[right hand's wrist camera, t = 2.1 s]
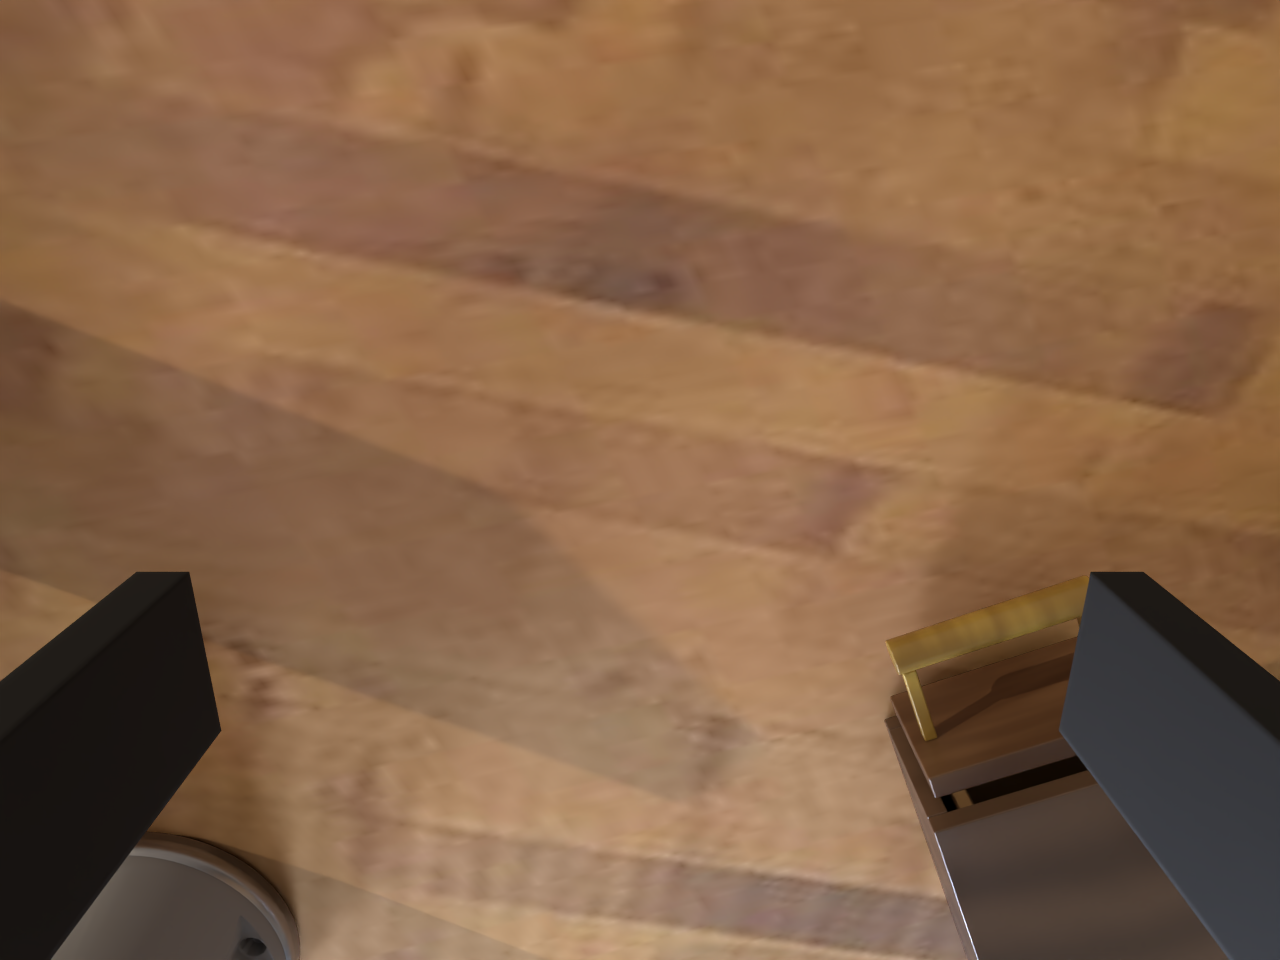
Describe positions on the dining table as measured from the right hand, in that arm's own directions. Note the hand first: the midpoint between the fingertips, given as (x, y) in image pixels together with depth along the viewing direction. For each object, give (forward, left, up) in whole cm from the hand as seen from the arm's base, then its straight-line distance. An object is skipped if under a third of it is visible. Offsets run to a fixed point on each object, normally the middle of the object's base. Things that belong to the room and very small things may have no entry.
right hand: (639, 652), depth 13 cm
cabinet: (-14, -31, -27) cm, 44 cm away
